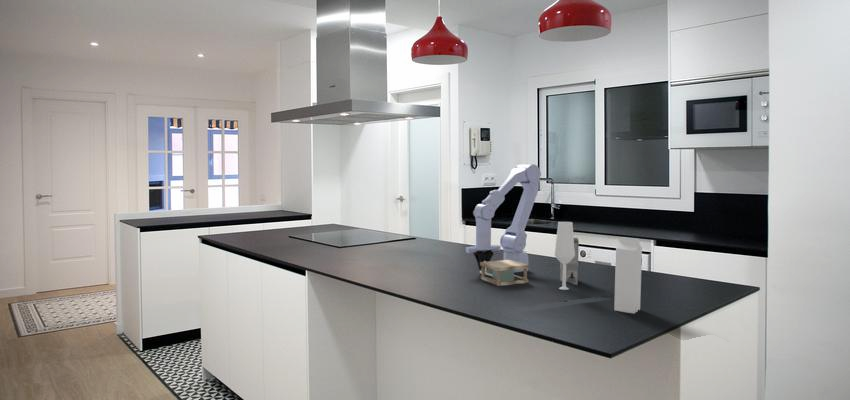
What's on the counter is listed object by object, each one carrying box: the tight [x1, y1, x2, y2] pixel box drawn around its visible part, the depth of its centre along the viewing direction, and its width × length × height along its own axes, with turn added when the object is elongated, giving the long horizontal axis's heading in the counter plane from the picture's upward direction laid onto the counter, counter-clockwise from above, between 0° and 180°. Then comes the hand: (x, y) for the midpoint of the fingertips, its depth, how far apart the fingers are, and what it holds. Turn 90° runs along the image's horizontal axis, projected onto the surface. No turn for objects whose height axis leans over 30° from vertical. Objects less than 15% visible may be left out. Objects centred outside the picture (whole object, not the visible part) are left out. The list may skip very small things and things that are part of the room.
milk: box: [613, 236, 643, 314], centre depth 172 cm, size 6×6×22 cm
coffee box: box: [559, 237, 580, 286], centre depth 211 cm, size 9×6×16 cm
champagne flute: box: [554, 221, 575, 291], centre depth 195 cm, size 7×7×24 cm
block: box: [479, 261, 515, 282], centre depth 214 cm, size 6×18×5 cm, turn 25°
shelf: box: [480, 259, 530, 287], centre depth 211 cm, size 13×20×8 cm, turn 26°
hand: (483, 270), depth 221 cm, fingers closed on block
